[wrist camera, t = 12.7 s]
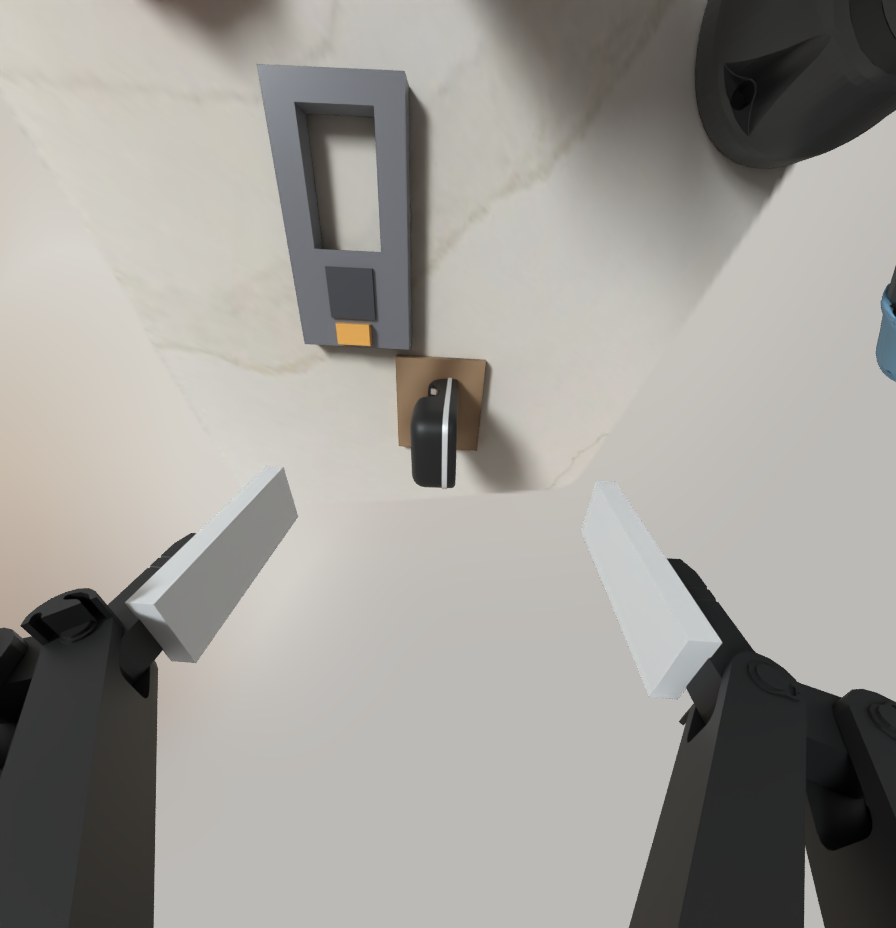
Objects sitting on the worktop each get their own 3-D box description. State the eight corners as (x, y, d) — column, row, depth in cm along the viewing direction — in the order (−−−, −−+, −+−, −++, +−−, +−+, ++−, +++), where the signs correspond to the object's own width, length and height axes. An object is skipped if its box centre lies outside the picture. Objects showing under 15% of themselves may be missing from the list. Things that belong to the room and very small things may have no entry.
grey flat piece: (408, 85, 24) (402, 64, 21) (411, 345, 33) (407, 351, 30) (271, 79, 24) (249, 57, 21) (313, 340, 33) (301, 345, 30)
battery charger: (421, 374, 33) (404, 417, 23) (458, 375, 33) (457, 419, 23) (423, 436, 37) (408, 496, 27) (456, 437, 37) (454, 498, 27)
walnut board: (485, 359, 33) (485, 362, 32) (476, 446, 38) (476, 450, 37) (397, 354, 33) (395, 357, 32) (400, 442, 38) (398, 446, 37)
